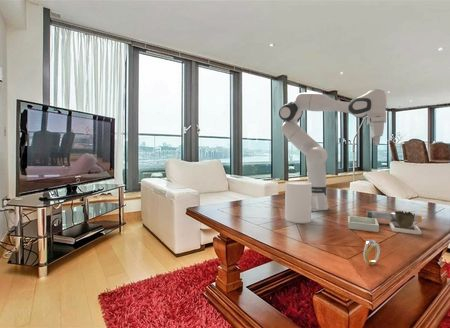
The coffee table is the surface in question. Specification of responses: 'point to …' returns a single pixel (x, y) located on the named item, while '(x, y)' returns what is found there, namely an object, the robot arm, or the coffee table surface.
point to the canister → (298, 201)
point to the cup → (404, 219)
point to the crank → (388, 215)
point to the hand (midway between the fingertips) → (376, 145)
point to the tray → (363, 223)
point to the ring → (366, 251)
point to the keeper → (416, 231)
